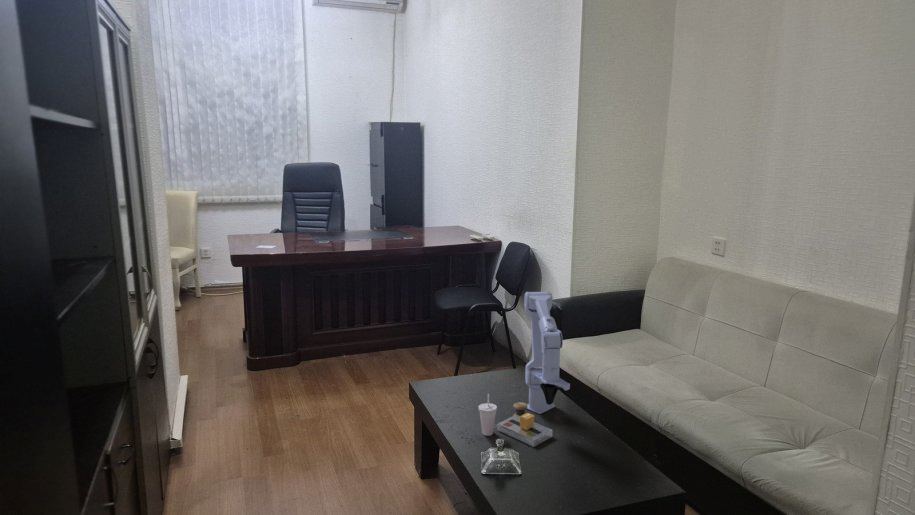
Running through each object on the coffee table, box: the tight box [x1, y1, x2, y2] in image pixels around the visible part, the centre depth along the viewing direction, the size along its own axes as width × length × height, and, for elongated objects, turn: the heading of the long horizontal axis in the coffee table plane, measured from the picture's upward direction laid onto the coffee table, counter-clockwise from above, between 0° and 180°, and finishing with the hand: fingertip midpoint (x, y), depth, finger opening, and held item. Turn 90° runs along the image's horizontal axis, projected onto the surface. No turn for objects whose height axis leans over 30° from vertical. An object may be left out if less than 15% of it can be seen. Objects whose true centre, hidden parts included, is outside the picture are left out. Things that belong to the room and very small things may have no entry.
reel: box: [512, 401, 528, 416], centre depth 216 cm, size 5×5×5 cm
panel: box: [497, 414, 553, 448], centre depth 204 cm, size 10×16×3 cm, turn 44°
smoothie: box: [478, 393, 498, 437], centre depth 203 cm, size 6×6×14 cm
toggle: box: [520, 412, 535, 430], centre depth 202 cm, size 4×3×4 cm
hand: (549, 403), depth 203 cm, fingers closed
